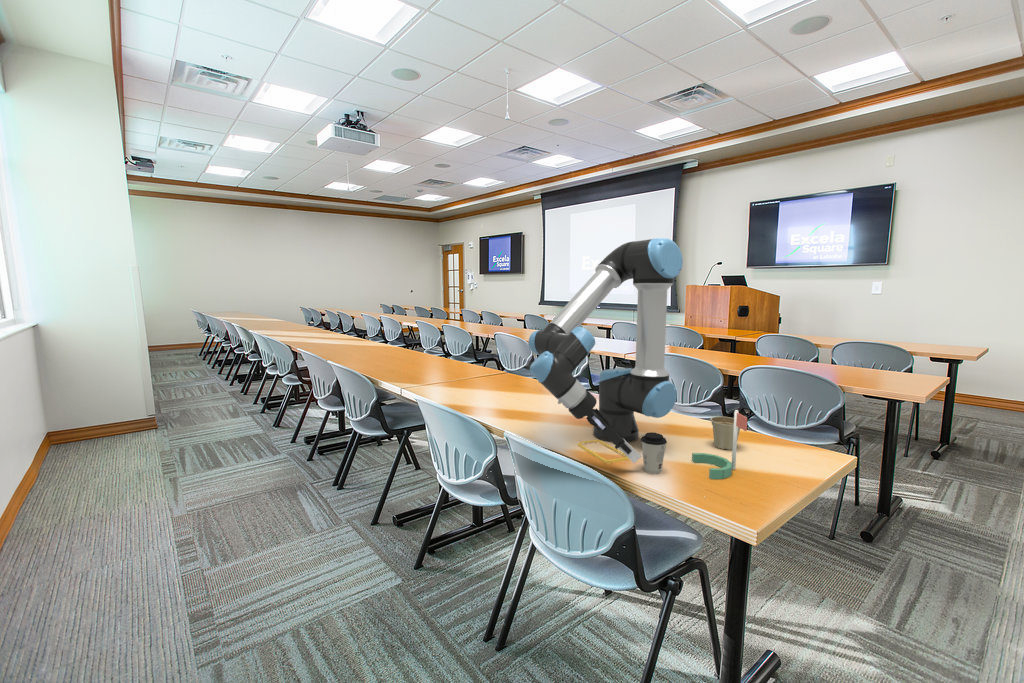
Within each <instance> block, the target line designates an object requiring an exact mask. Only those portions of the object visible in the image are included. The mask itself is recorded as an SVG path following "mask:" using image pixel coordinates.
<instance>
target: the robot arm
mask: <svg viewBox="0 0 1024 683" xmlns="http://www.w3.org/2000/svg"><path fill="white" fill-rule="evenodd" d="M682 267H683V254H682V251H681V250H680V247H679V246H678V245H677V243H676V242H675V241H673V239H669V238H662V237H661V238H651V239H644V240H636V241H634V240H632V241H629V242H626V243H622V245H619V246H618V247H616V248H615V249H613V250H612V251H611V252H610V253H608V254H607V255H606V257H604V258H603V260H601V261H600V263H599V264H597V266H596V267H595V272H594V274H593V275H592V276H591V277H590V278H589V279H588V280H587V281H586V282H585V283H584V285H583V286H582V287H581V288H580V289H579V290H578V292H576V293H575V295H574V296H572V298H571V299H570V300H569V301H568V302H567V303H566V305H564V306H563V308H562V309H561V310H560V311H559V312H558V313H557V314H556V315H555V317H554V318H553V319H551V321H550V322H549V323H548V324H547V325H546V326H545V328H544V329H539V330H535V331H533V332H532V333H530V336H529V338H528V347H529V350H530V351H531V352H532V353H533V354H535V355H538V356H537V358H535V359H534V361H533V362H532V363H531V364H530V367H529V372H530V373H531V375H532V376H533V377H534V378H535V379H536V380H537V382H538V383H539V384H541V385H542V386H543V387H544V388H545V389H546V390H547V391H549V393H550V394H551V395H552V396H553V397H554V398H556V400H557V404H559V405H561V404H562V405H563V406H564V407H565V408H566V409H568V412H569V413H570V414H571V415H572V416H573V417H574V418H575V419H577V420H581V419H583V418H584V417H586V418H585V419H586V420H587V422H588V423H589V424H590V425H591V426H593V430H592V431H593V434H592V435H593V436H594V437H595V438H597V439H598V440H601V441H605V442H611V443H612V444H613V445H614V448H615V449H617V450H619V451H620V452H622V453H624V454H625V455H626V456H627V457H628V458H629V460H630V461H631V462H632V463H633V464H635V463H636V462H638V460H639V459H641V457H642V455H640V453H639V452H637V451H636V449H635V448H633V446H632V445H631V444H629V443H630V442H634V441H636V440H638V439H639V435H640V434H639V432H640V431H639V427H638V424H637V421H636V417H635V413H638V414H641V415H643V416H645V417H649V418H651V417H652V418H655V419H656V418H657V419H659V418H663V417H665V416H667V415H668V414H669V413H670V412H671V410H672V409H673V408H674V406H675V404H676V401H677V396H678V392H677V388H676V386H675V384H674V383H673V382H671V381H670V372H668V371H667V370H666V367H665V359H666V358H665V354H666V335H667V334H666V331H667V305H668V291H669V289H670V288H671V287H672V286H673V285H674V278H676V277H677V276H679V274H680V272H681V271H682V269H683V268H682ZM629 280H632V285H633V287H635V288H636V290H637V303H636V304H637V305H636V306H637V309H636V310H637V311H636V312H637V313H636V337H635V338H636V339H635V340H636V342H635V366H634V368H631V367H629V368H628V367H623V368H622V367H620V368H619V367H618V368H609V369H603V370H602V371H601V372H600V373H599V381H598V408H595V406H596V405H597V398H596V397H595V396H594V395H593V394H592V393H591V392H590V391H589V390H587V388H586V387H585V386H584V385H583V384H582V383H581V382H580V381H579V380H578V378H576V377H575V376H574V374H573V372H574V371H575V370H576V368H578V366H579V365H580V364H581V363H582V362H583V361H584V360H585V358H586V357H587V356H588V355H590V353H591V351H592V349H593V348H594V346H595V345H596V338H595V336H594V335H593V334H592V332H590V331H589V330H588V329H587V328H585V327H584V326H583V327H582V326H581V325H582V324H583V323H584V322H585V321H586V320H587V319H588V317H590V315H591V314H592V313H593V312H594V311H595V310H596V308H597V307H599V305H600V304H601V303H602V301H604V299H605V298H606V297H607V296H608V295H609V294H610V292H612V290H613V289H617V288H619V287H620V286H622V284H623V283H624V282H625V281H629Z"/></svg>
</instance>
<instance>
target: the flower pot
mask: <svg viewBox="0 0 1024 683" xmlns="http://www.w3.org/2000/svg"><path fill="white" fill-rule="evenodd" d="M709 420H710V422H711V425H712V432H713V433H712V434H713V444H714V447H715V446H716V448H717V447H718V449H720V448H721V450H728V451H732V448H733V430H734V417H730V416H729V417H728V416H713V417H711V418H710V419H709ZM741 430H742V429H741V428H739V427H738V432H737V441H738V440H739V435H740V431H741Z"/></svg>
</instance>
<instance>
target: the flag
mask: <svg viewBox="0 0 1024 683" xmlns="http://www.w3.org/2000/svg"><path fill="white" fill-rule="evenodd" d="M733 414H734V416H733V418H734V430H733V448H732V450H731V452H732V453H731V463H732V470H733V471H734V470H736V465H737V446H738V440H737V432H738V427H739V428H741V429H740V430H743V431H744V432H747V430H748V417H746V416H745V415H743V414H742V413H739V409H735V410H734V413H733Z"/></svg>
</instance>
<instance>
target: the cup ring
mask: <svg viewBox="0 0 1024 683" xmlns="http://www.w3.org/2000/svg"><path fill="white" fill-rule="evenodd" d="M692 461H693V462H697V463H696V464H708V465H714V466H716V467H715V468H714V467H712V468H709V470H708V478H709V479H710V480H725V479H727V477H728V478H730V476H731V477H732V472H733V471H732V470H733V469H732V461H730V460H729V459H727V458H726V457H722V456H720V455H716V454H711V453H705V452H692V453H691V462H692ZM693 462H692V463H693ZM721 467H722V468H721ZM724 478H725V479H724Z"/></svg>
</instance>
